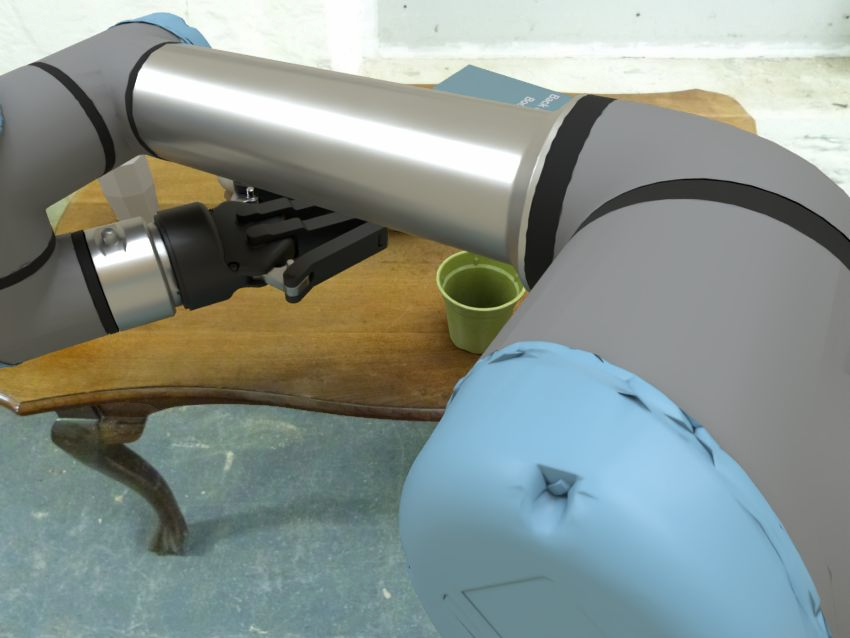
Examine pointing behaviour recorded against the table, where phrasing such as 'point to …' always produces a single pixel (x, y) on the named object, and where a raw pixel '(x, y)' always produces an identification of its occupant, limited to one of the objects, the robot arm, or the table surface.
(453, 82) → the book
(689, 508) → the robot arm
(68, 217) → the table surface
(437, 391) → the table surface
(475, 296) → the plant pot
